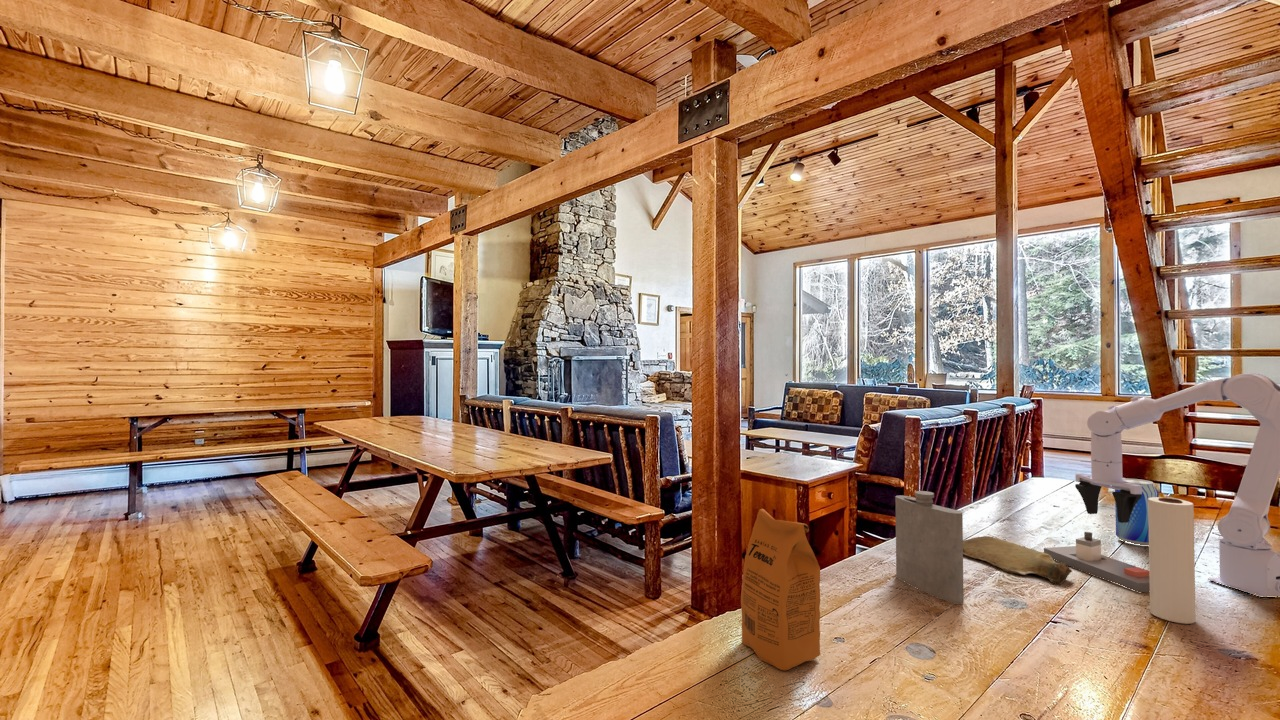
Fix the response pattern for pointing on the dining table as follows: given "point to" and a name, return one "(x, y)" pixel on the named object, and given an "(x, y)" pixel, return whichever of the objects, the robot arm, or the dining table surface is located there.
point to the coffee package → (781, 594)
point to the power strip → (1104, 568)
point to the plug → (1088, 547)
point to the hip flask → (930, 546)
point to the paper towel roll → (1172, 559)
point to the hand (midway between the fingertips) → (1107, 517)
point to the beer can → (1137, 515)
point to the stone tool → (1015, 558)
